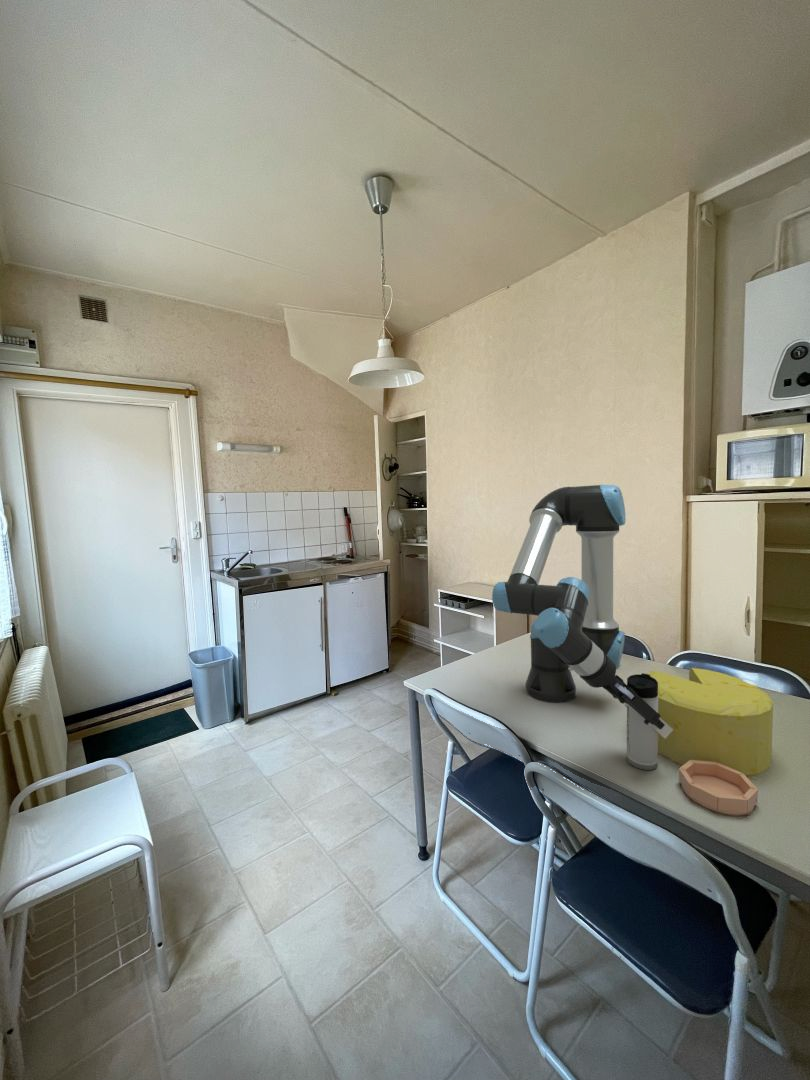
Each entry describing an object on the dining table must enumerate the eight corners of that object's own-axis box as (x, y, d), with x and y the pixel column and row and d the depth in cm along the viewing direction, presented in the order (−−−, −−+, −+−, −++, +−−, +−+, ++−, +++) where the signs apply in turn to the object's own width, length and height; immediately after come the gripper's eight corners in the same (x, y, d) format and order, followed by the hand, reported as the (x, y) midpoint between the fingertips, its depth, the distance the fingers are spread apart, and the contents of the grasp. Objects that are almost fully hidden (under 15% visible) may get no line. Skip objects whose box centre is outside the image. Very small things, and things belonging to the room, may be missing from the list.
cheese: (651, 707, 124) (652, 657, 122) (770, 735, 107) (771, 678, 106) (631, 750, 104) (631, 690, 102) (772, 793, 87) (775, 722, 86)
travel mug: (661, 760, 99) (661, 676, 97) (653, 774, 94) (654, 686, 93) (631, 750, 103) (631, 670, 102) (623, 763, 99) (623, 679, 97)
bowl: (697, 812, 83) (697, 795, 82) (672, 773, 94) (672, 758, 94) (768, 819, 80) (769, 801, 80) (733, 778, 92) (734, 763, 92)
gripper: (558, 660, 104) (619, 717, 108) (605, 695, 85) (678, 762, 89) (578, 637, 105) (639, 695, 108) (630, 666, 86) (701, 735, 89)
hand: (656, 725), depth 99 cm, fingers closed on travel mug, 6 cm apart
